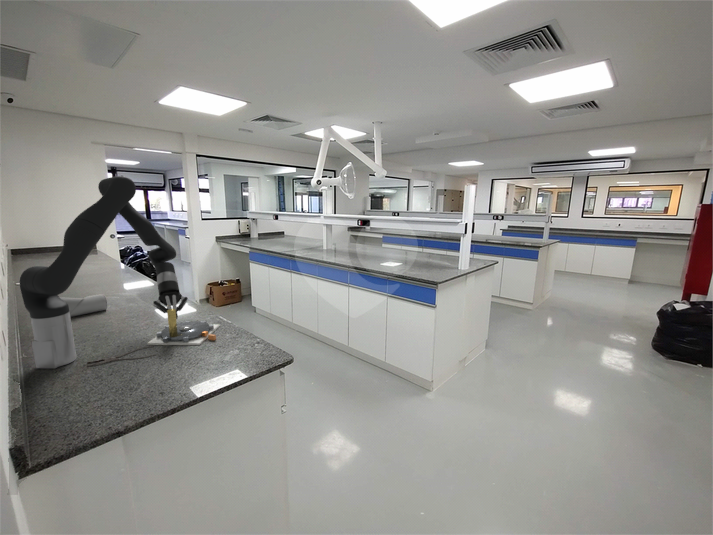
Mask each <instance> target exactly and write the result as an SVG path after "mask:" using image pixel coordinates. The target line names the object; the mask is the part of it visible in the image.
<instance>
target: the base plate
mask: <svg viewBox="0 0 713 535" xmlns="http://www.w3.org/2000/svg"><path fill="white" fill-rule="evenodd" d="M208 324H209V323H208ZM209 325H213V326H214V329H211V330H210V331H209V332H208V335H207V336H201V337H198V338H195V339H191V340H189V341H188V342H184V341H169V342H163V339H162V337H157V336H154V338H152V339H151V340H149V341H148V342H147V346H161V345H162V346H200V345H202V344H203V343H204V342H205V341H206V340H209V341H215V340H217V335H216V334H213V333H215V331H216V330H218V329H219V328H220V326H221V325H220V324H217V323H216V324H215V323H213V324H212V323H211V324H209Z"/></svg>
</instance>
